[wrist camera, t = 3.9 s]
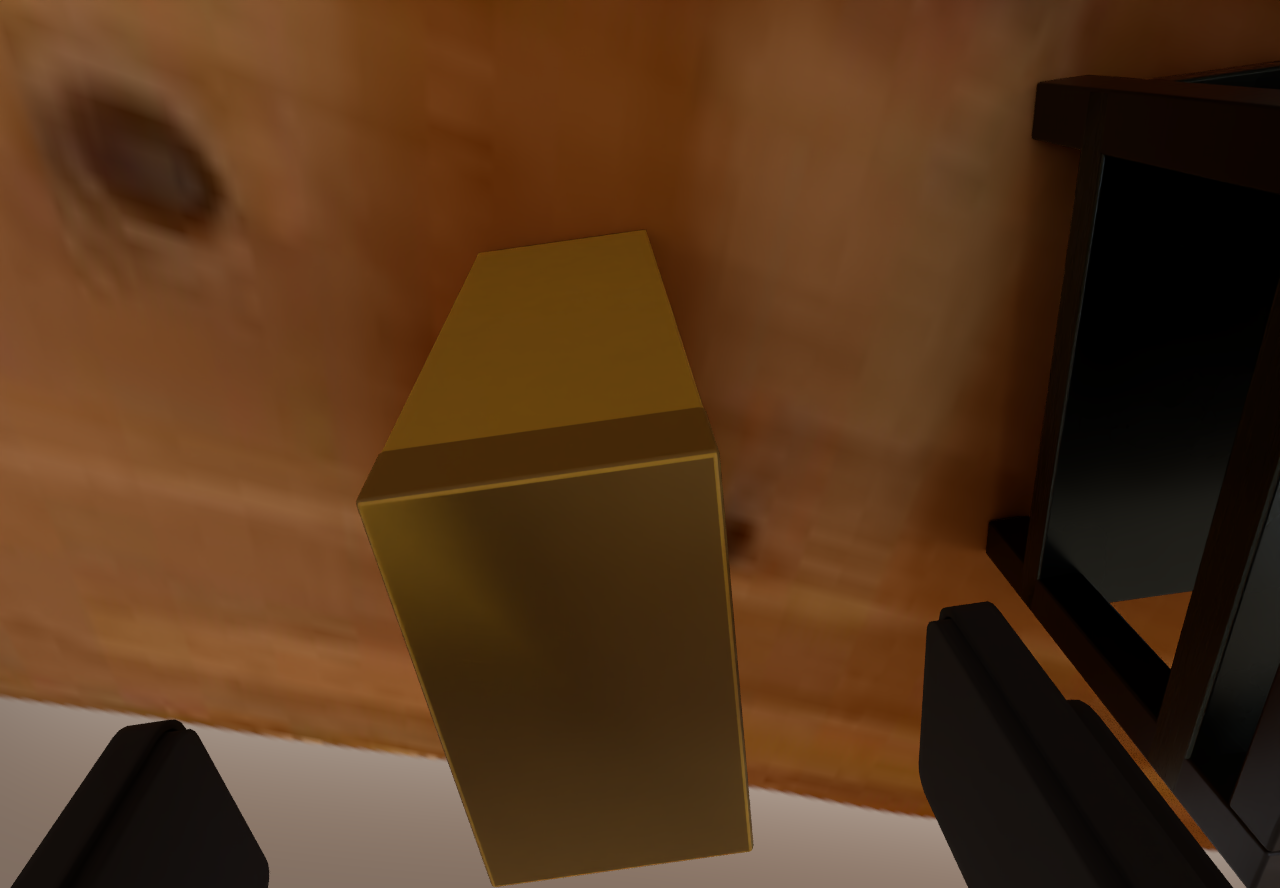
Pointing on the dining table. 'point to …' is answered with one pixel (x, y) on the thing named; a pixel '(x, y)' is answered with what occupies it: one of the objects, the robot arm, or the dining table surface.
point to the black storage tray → (1169, 434)
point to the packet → (568, 567)
